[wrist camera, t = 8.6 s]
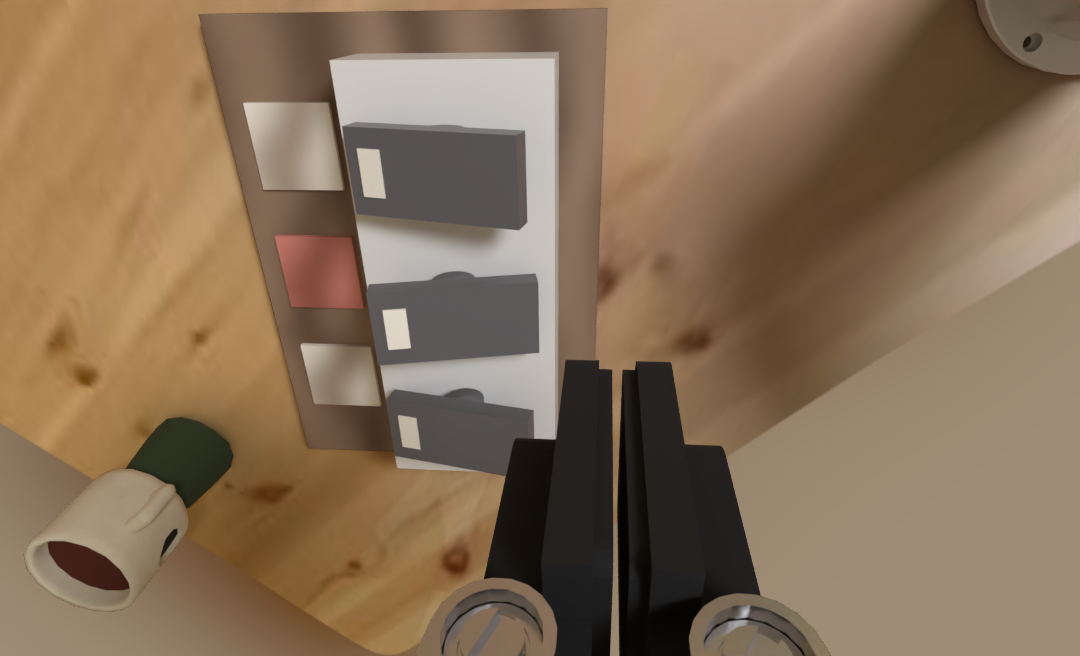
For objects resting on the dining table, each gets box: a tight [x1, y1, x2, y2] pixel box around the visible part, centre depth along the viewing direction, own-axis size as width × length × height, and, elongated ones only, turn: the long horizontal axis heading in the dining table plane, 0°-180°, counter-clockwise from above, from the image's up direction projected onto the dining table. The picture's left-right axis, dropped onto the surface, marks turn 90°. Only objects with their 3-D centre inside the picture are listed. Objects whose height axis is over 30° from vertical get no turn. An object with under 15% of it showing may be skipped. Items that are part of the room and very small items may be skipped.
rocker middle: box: [366, 271, 539, 366], centre depth 34 cm, size 9×4×3 cm, turn 91°
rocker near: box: [342, 122, 527, 230], centre depth 30 cm, size 9×4×3 cm, turn 90°
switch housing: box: [329, 52, 559, 472], centre depth 37 cm, size 11×26×4 cm, turn 1°
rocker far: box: [386, 388, 534, 476], centre depth 38 cm, size 9×4×3 cm, turn 90°
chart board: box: [198, 8, 608, 452], centre depth 39 cm, size 22×30×2 cm
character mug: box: [24, 417, 233, 612], centre depth 43 cm, size 11×7×13 cm, turn 129°
